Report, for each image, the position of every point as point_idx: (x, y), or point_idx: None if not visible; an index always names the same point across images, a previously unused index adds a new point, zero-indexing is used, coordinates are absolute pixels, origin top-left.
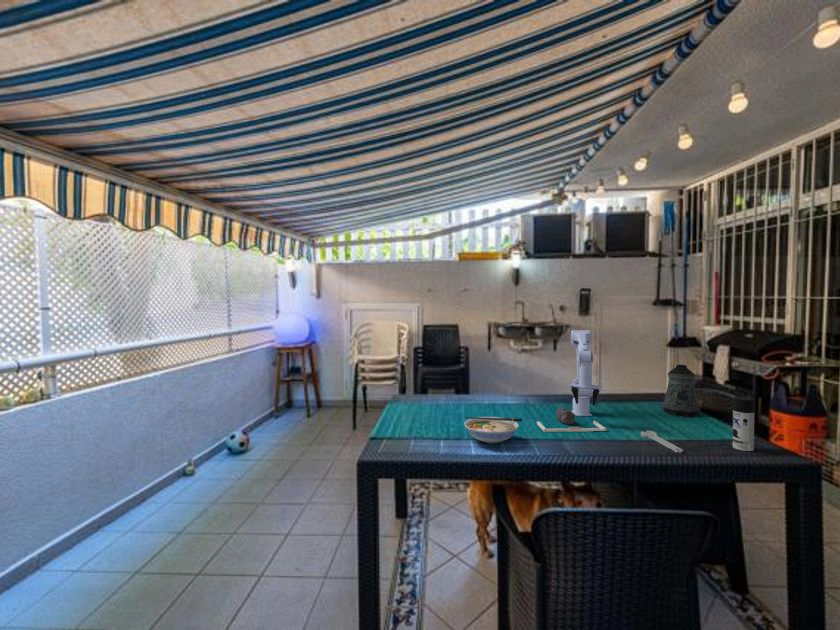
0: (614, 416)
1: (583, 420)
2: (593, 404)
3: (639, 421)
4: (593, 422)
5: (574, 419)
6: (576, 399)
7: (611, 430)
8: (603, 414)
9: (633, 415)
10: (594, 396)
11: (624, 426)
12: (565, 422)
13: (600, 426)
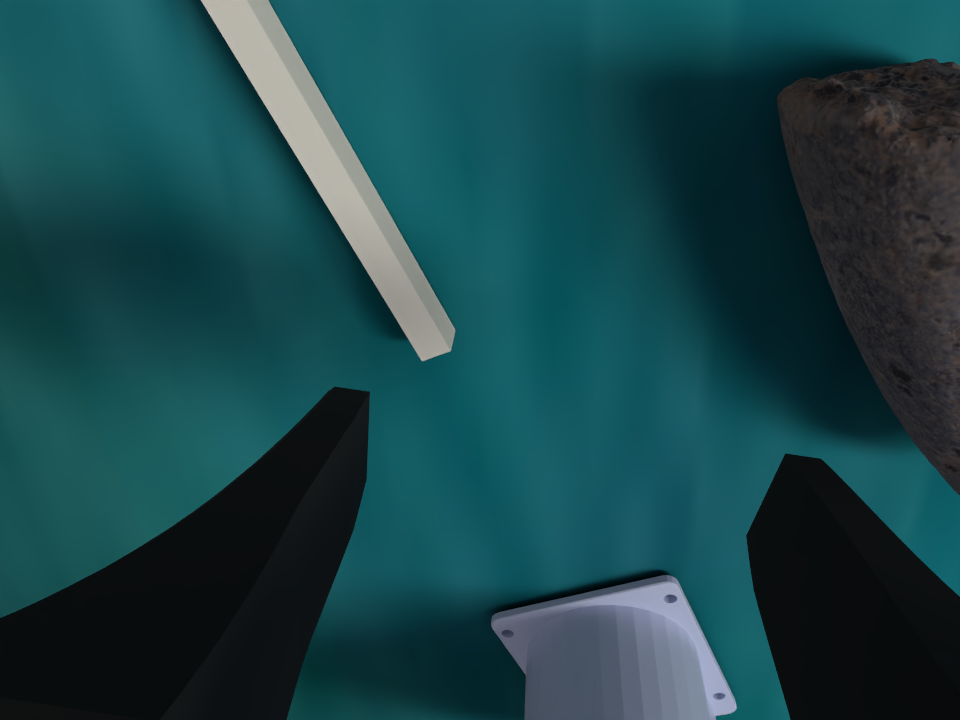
0: None
1: (593, 430)
2: (340, 402)
3: (4, 557)
4: (445, 326)
5: (791, 97)
6: (859, 534)
7: (127, 29)
8: (386, 681)
9: None
10: (192, 563)
11: (52, 327)
12: (956, 69)
13: (297, 80)
